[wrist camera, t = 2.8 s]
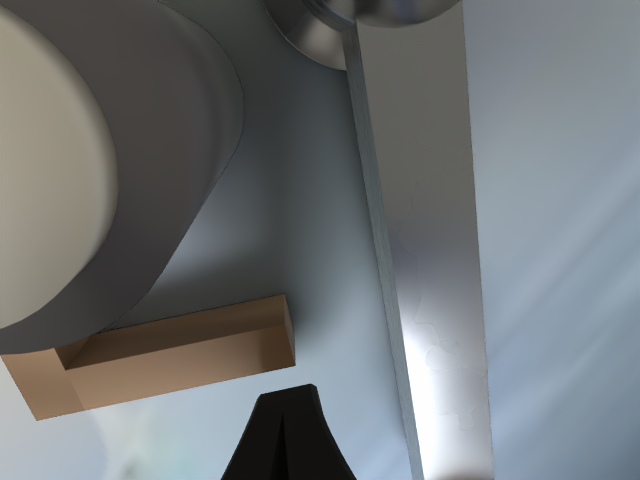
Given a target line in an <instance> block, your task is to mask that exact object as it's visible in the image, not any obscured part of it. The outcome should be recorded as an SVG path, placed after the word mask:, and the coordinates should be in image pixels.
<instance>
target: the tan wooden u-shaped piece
mask: <svg viewBox="0 0 640 480" xmlns="http://www.w3.org/2000/svg"><path fill="white" fill-rule="evenodd" d="M0 356H1V358H2V360H3V362H4V363H5V365H6V367H7V369H8V371H9V372H10V374H11V376H12V378H13V380H14V381H15V383H16V385H17V387H18V389H19V390H20V392H21V393H22V396H23V397H24V399H25V401H26V403H27V405H28V406H29V408H30V410H31V412H32V414H33V415H34V417H35V419H36V421H38V420H43V419H47V418H52V417H57V416H61V415H66V414H71V413H75V412H80V411H85V410H90V409H94V408H99V407H104V406H109V405H113V404H118V403H123V402H127V401H132V400H137V399H142V398H146V397H151V396H156V395H160V394H165V393H170V392H175V391H179V390H184V389H189V388H193V387H198V386H203V385H207V384H212V383H217V382H222V381H226V380H231V379H236V378H240V377H245V376H250V375H255V374H259V373H264V372H269V371H273V370H278V369H283V368H288V367H292V366H296V363H295V339H294V329H293V325H292V321H291V317H290V313H289V309H288V306H287V302H286V298H285V294H281V295H276V296H272V297H267V298H262V299H257V300H253V301H248V302H243V303H238V304H234V305H229V306H224V307H220V308H215V309H210V310H205V311H201V312H196V313H191V314H187V315H182V316H177V317H172V318H168V319H163V320H158V321H153V322H149V323H144V324H139V325H135V326H130V327H125V328H120V329H116V330H111V331H106V332H102V333H97V334H93V335H90V336H88V337H85V338H83V339H80V340H78V341H76V342H73V343H71V344H67V345H63V346H60V347H56V348H52V349H49V350H44V351H37V352H31V353H24V354H8V355H0Z"/></svg>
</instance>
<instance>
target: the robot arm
mask: <svg viewBox="0 0 640 480" xmlns="http://www.w3.org/2000/svg"><path fill="white" fill-rule="evenodd" d="M221 480H357V479H356V478H355V476H354V474H353V473H352V471H351V469H350V468H349V466H348V464H347V462H346V461H345V459H344V457H343V455H342V453H341V452H340V450H339V448H338V446H337V444H336V442H335V440H334V438H333V436H332V434H331V432H330V429H329V427H328V425H327V423H326V420H325V418H324V415H323V411H322V407H321V403H320V399H319V395H318V391H317V387H316V386H314V385H313V384H306V385H302V386H297V387H292V388H288V389H283V390H279V391H274V392H269V393H265V394H261V395H260V396H259V397H258V399H257V401H256V404H255V406H254V409H253V411H252V414H251V416H250V419H249V421H248V423H247V426H246V428H245V430H244V432H243V435H242V437H241V439H240V441H239V444H238V446H237V448H236V450H235V452H234V454H233V456H232V458H231V460H230V462H229V464H228V466H227V468H226V470H225V472H224V474H223V476H222V478H221Z"/></svg>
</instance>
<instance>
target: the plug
mask: <svg viewBox="0 0 640 480" xmlns="http://www.w3.org/2000/svg"><path fill="white" fill-rule="evenodd" d="M243 124H244V99H243V94H242V88H241V85H240V82H239V78H238V75H237V73H236V71H235V69H234V66H233V64H232V62H231V61H230V59H229V57H228V56H227V54H226V53H225V51H224V50H223V49H222V47H221V46H220V45H219V43H218V42H217V41H216V40H215V39H214V38H213V37H212V36H211V35H210V34H209V33H208V32H207V31H206V30H204V29H203V28H202V27H200V26H199V25H198V24H197V23H195V22H193V21H192V20H190V19H188V18H187V17H185V16H183V15H181V14H180V13H178V12H176V11H174V10H173V9H171V8H169V7H167V6H165V5H164V4H162V3H160V2H158V1H157V0H0V355H8V354H24V353H31V352H37V351H44V350H49V349H52V348H56V347H60V346H63V345H67V344H71V343H73V342H76V341H78V340H80V339H83V338H85V337H88V336H90V335H93V334H95V333H96V332H98V331H100V330H101V329H103V328H105V327H107V326H108V325H110V324H112V323H114V322H115V321H116V320H118V319H119V318H120V317H121V316H123V315H124V314H125V313H127V312H128V311H129V310H130V309H132V308H133V307H134V306H135V305H136V304H137V303H138V302H139V301H140V300H141V299H142V298H143V297H144V295H145V294H146V293H147V292H148V291H149V290H150V289H151V287H152V286H153V284H154V283H155V282H156V280H157V279H158V277H159V276H160V275H161V273H162V272H163V270H164V269H165V267H166V265H167V264H168V262H169V260H170V259H171V257H172V255H173V254H174V252H175V250H176V249H177V247H178V245H179V244H180V242H181V240H182V239H183V237H184V235H185V234H186V232H187V230H188V229H189V227H190V225H191V224H192V222H193V220H194V219H195V217H196V215H197V214H198V212H199V210H200V209H201V207H202V205H203V204H204V202H205V200H206V199H207V197H208V195H209V194H210V192H211V190H212V189H213V187H214V185H215V184H216V182H217V181H218V179H219V177H220V176H221V174H222V172H223V171H224V169H225V167H226V166H227V164H228V162H229V161H230V159H231V157H232V156H233V154H234V152H235V150H236V148H237V146H238V143H239V140H240V137H241V134H242V129H243Z"/></svg>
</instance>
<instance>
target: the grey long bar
mask: <svg viewBox="0 0 640 480" xmlns="http://www.w3.org/2000/svg"><path fill="white" fill-rule="evenodd" d="M301 1H302V3H303V4H304V6H305V7H306V8H307V9H308V10H309V11H310V12H311V14H312V15H314V16H315V17H316V18H317V19H318V20H319V21H320V22H322V23H323V24H325V25H327V26H328V27H330V28H331V29H334V30H336V31H338V32H340V34H341V40H342V46H343V52H344V58H345V65H346V71H347V77H348V83H349V89H350V96H351V102H352V108H353V114H354V120H355V126H356V133H357V139H358V145H359V151H360V157H361V163H362V170H363V176H364V182H365V188H366V194H367V200H368V207H369V213H370V219H371V225H372V231H373V237H374V244H375V250H376V256H377V262H378V268H379V275H380V281H381V287H382V293H383V299H384V305H385V312H386V318H387V324H388V330H389V336H390V342H391V349H392V355H393V361H394V367H395V373H396V379H397V386H398V392H399V398H400V404H401V410H402V416H403V423H404V429H405V435H406V441H407V447H408V454H409V460H410V466H411V472H412V478H413V480H494V466H493V451H492V437H491V422H490V407H489V392H488V378H487V363H486V348H485V334H484V319H483V304H482V289H481V275H480V260H479V245H478V230H477V216H476V201H475V186H474V172H473V157H472V142H471V127H470V113H469V98H468V83H467V69H466V54H465V39H464V24H463V10H462V0H301Z"/></svg>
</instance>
